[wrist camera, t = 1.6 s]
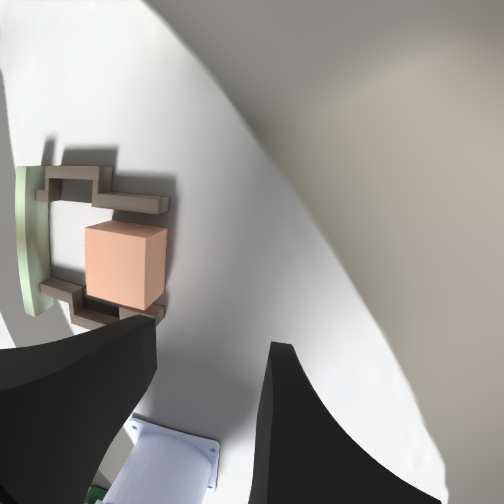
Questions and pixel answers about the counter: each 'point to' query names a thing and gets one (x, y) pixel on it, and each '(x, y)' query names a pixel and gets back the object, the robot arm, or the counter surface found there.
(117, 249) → the block
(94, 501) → the coffee jar
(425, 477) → the counter surface
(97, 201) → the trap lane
